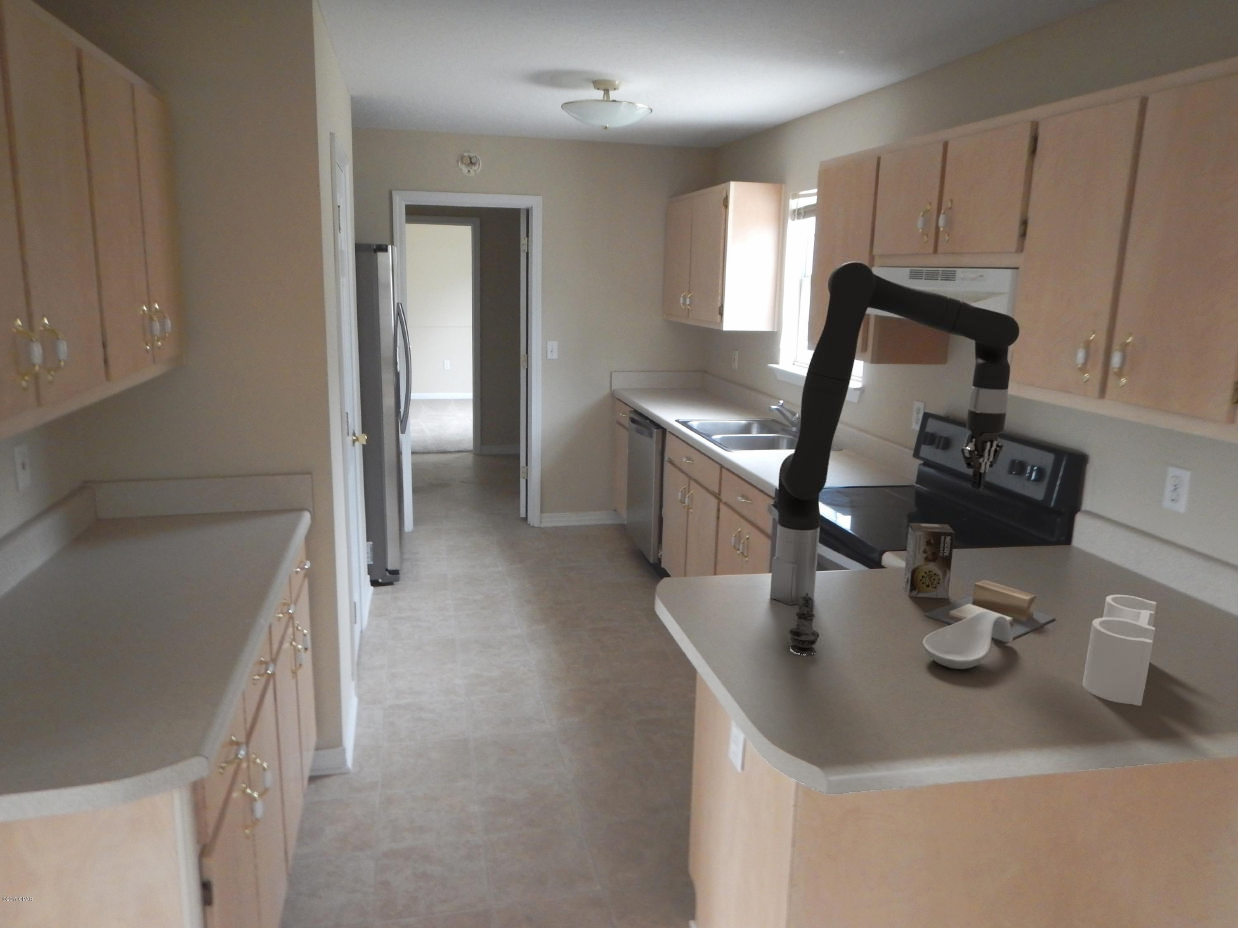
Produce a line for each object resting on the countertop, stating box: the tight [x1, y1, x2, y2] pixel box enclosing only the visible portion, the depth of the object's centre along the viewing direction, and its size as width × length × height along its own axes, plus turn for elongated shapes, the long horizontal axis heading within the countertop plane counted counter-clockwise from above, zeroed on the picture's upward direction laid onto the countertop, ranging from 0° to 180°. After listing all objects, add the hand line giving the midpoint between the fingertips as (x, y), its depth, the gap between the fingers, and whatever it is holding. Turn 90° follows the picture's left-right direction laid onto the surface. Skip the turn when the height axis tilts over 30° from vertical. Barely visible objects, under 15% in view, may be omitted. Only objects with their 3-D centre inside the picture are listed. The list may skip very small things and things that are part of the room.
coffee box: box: [902, 522, 955, 599], centre depth 206 cm, size 9×6×16 cm
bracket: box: [1082, 594, 1157, 706], centre depth 166 cm, size 25×10×12 cm, turn 146°
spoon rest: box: [922, 611, 1013, 670], centre depth 173 cm, size 24×12×7 cm, turn 130°
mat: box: [924, 595, 1056, 644], centre depth 194 cm, size 22×18×1 cm
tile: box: [949, 604, 1013, 624], centre depth 191 cm, size 4×10×8 cm
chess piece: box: [788, 593, 820, 656], centre depth 173 cm, size 6×6×12 cm
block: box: [972, 579, 1037, 621], centre depth 196 cm, size 4×12×5 cm, turn 39°
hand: (977, 488), depth 192 cm, fingers closed
